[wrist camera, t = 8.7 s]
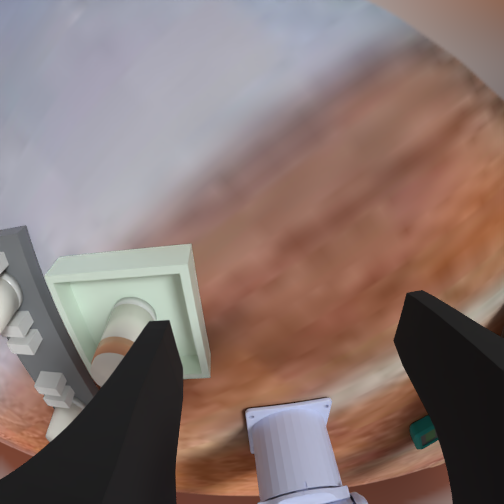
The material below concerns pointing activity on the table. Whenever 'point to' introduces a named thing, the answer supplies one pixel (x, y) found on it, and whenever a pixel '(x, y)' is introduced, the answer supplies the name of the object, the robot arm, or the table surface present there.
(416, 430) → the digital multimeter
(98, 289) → the tray
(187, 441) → the table surface
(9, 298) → the white glossy rounded part
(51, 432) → the cylinder
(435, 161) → the table surface
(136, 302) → the cylinder
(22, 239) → the fuse board
